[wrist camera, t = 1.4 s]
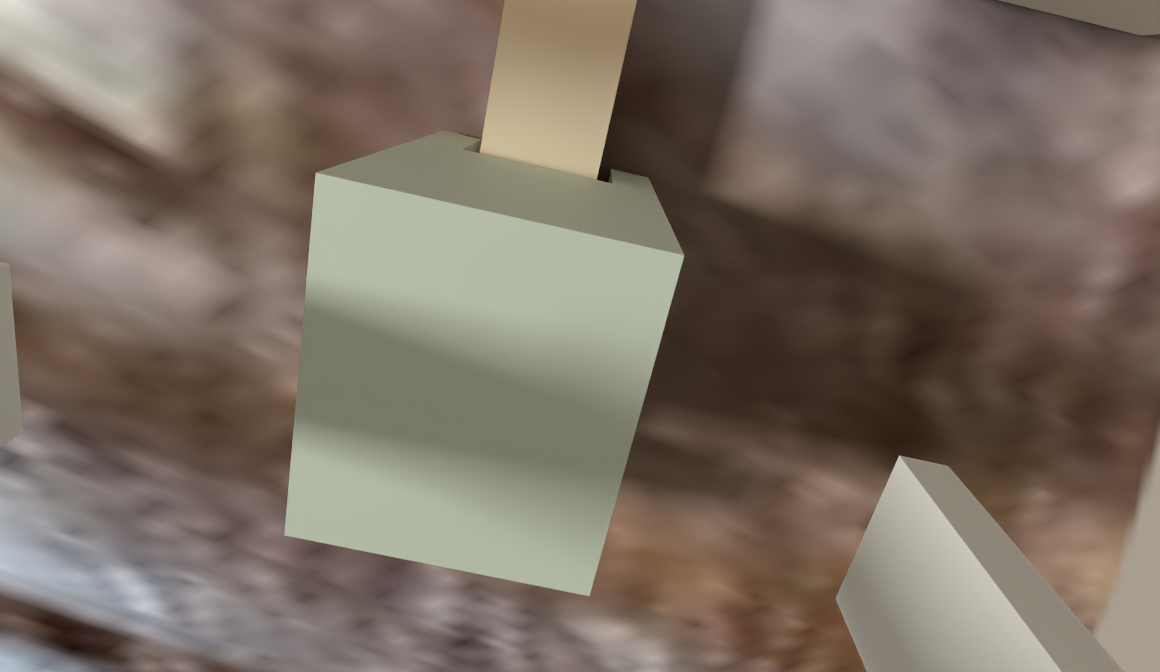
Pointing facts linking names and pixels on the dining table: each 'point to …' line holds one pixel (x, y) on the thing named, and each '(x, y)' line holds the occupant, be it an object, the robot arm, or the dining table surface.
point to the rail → (556, 82)
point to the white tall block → (1104, 13)
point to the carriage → (475, 358)
